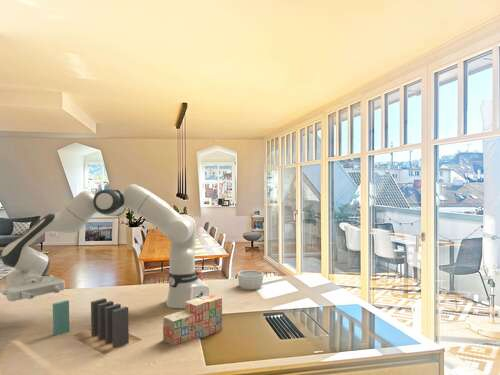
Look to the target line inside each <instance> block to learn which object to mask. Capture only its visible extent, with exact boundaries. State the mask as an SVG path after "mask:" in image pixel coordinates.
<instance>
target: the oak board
mask: <svg viewBox="0 0 500 375" xmlns="http://www.w3.org/2000/svg"><path fill="white" fill-rule="evenodd" d="M70 336H71V338H74V339H76V340H78V341H79V342H81V343H84V344H85V345H86V346H89V347H91V349H94V350H95V351H97V352H99V353H101V354H103V355H106V354H108V353H111V352H114V351H117V350H119V349H122V348H125V347H127V346H129V345H132V344H135V343H137V342H139V341H140V342H141V341H142V340H143V339H142V338H140V337H138V336H135V335H134V334H131V333H129V343H127V344H125V345H122V346H119V347H117V348H114V347H113V344H112V343H110V344H106V343H105V339H104V340H99V339H98V336H95V337H93V336H91V328H90V329H86V330H84V331H81V332H78V333H75V334H72V335H70Z"/></svg>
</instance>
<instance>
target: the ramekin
mask: <svg viewBox="0 0 500 375" xmlns="http://www.w3.org/2000/svg"><path fill="white" fill-rule="evenodd" d="M263 280H264V272H263V271H262V270H261V271H260V270H255V269H254V270H253V269H246V270H240V271H239V272H238V273H237V281H238V286H239V287H240V288H241V289H243V290H249V291H251V290H253V291H254V290H257V289H260V288H261V287H262V285H263Z"/></svg>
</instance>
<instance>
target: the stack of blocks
mask: <svg viewBox="0 0 500 375" xmlns="http://www.w3.org/2000/svg"><path fill="white" fill-rule="evenodd" d="M222 304H223V298H222V297H219V296H217V295H214V294H212V295H208V296H203V297H199V298H196V299H193V300H190V301H186V302H185V308H184V310H182V311H177V312H175V313H171V314H168V315H164V316H163V318H162V320H163V321H162V322H163V323H162V324H163V325H162V332H163V333H162V335H163V336H162V338H163V340H162V341H164V342H165V343H168V344H170V345H171V346H173V347H174V346H176V345H179V344H182V343H184V342H187V341H190V340H192V339H195V338H197V339H198V340H199V339H202V338H205V337H209V336H211V335H213V334H216V333H219V332H221V331H222V330H223V305H222Z"/></svg>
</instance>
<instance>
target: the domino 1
mask: <svg viewBox="0 0 500 375" xmlns="http://www.w3.org/2000/svg"><path fill="white" fill-rule="evenodd" d="M68 332H70V300H68V299H66V300H63V301H62V300H61V301H59V302H54V303H52V335H53V336H56V337H57V336H59V335H63V334H65V333H68Z"/></svg>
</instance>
